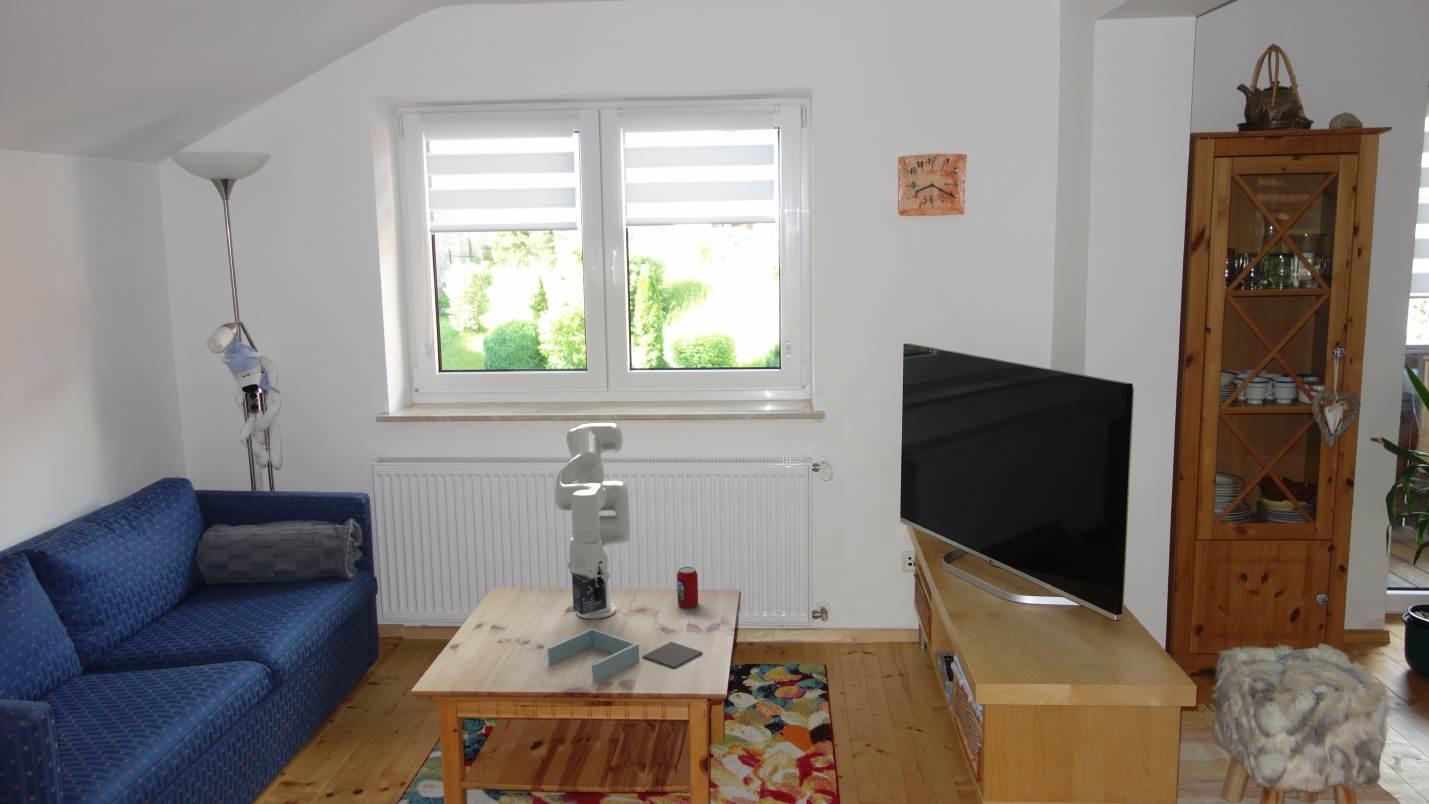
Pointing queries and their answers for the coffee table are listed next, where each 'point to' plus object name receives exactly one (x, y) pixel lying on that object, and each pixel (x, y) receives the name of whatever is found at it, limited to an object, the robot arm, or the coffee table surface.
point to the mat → (672, 655)
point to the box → (586, 595)
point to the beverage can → (687, 587)
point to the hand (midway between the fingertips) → (589, 595)
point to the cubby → (621, 648)
